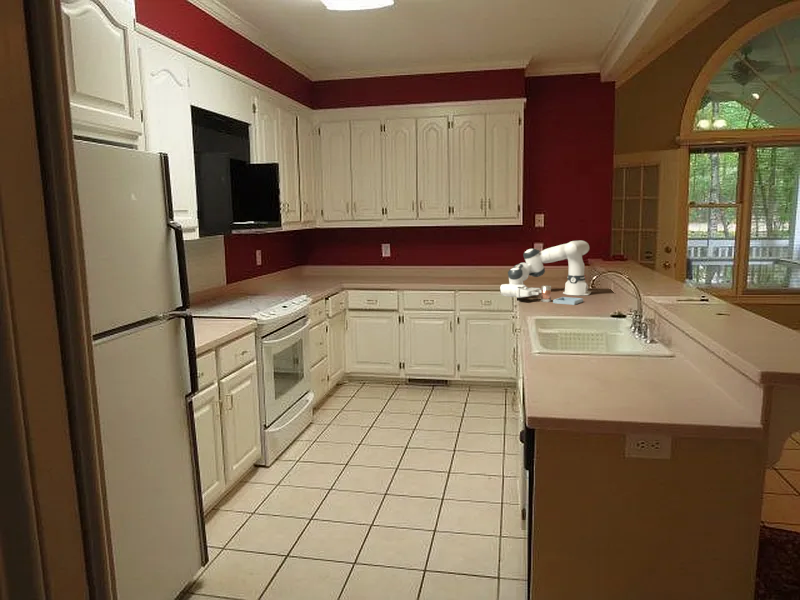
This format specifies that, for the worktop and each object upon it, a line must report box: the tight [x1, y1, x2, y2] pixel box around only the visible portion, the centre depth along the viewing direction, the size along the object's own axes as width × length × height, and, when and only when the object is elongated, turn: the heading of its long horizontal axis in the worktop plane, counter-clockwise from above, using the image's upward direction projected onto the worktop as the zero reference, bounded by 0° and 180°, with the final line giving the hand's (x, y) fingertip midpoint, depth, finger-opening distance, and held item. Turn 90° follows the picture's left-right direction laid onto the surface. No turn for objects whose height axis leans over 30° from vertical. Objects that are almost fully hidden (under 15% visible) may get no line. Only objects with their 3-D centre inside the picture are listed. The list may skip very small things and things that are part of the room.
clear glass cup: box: [540, 285, 552, 303], centre depth 381 cm, size 6×6×11 cm
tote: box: [552, 296, 584, 306], centre depth 375 cm, size 16×14×3 cm
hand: (541, 292), depth 382 cm, fingers open, 8 cm apart
